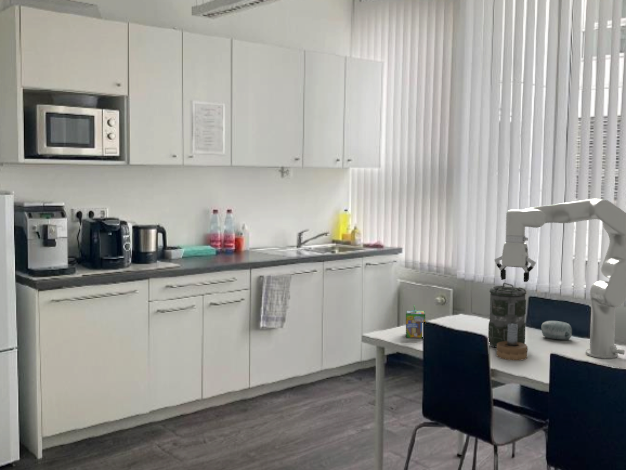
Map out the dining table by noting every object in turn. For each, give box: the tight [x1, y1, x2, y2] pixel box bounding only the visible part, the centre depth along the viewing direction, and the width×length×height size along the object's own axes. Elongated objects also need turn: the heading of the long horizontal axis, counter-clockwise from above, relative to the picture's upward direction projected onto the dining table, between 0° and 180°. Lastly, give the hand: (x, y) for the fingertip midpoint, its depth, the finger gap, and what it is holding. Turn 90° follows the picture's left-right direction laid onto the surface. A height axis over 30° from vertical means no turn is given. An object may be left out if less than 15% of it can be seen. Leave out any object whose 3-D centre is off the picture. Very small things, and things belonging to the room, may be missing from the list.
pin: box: [507, 323, 518, 347], centre depth 295 cm, size 4×4×14 cm
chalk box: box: [405, 304, 426, 339], centre depth 331 cm, size 9×9×15 cm
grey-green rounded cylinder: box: [540, 320, 573, 341], centre depth 327 cm, size 14×10×10 cm
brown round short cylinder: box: [496, 341, 528, 361], centre depth 296 cm, size 12×12×5 cm
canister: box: [487, 282, 527, 349], centre depth 312 cm, size 16×16×28 cm
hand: (514, 280), depth 293 cm, fingers open, 9 cm apart
